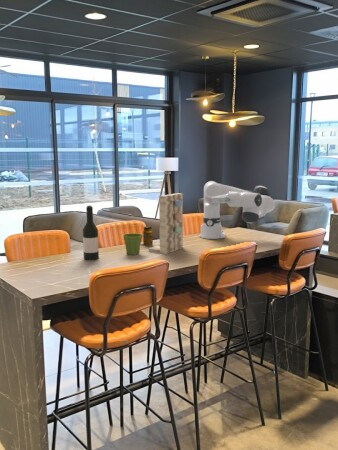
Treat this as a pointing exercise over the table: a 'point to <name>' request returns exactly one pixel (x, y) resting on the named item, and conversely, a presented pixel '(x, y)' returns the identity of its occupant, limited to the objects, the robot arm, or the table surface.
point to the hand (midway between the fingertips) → (211, 198)
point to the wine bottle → (90, 237)
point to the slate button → (177, 203)
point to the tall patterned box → (169, 224)
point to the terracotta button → (177, 216)
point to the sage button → (177, 230)
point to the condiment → (147, 237)
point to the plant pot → (132, 243)
